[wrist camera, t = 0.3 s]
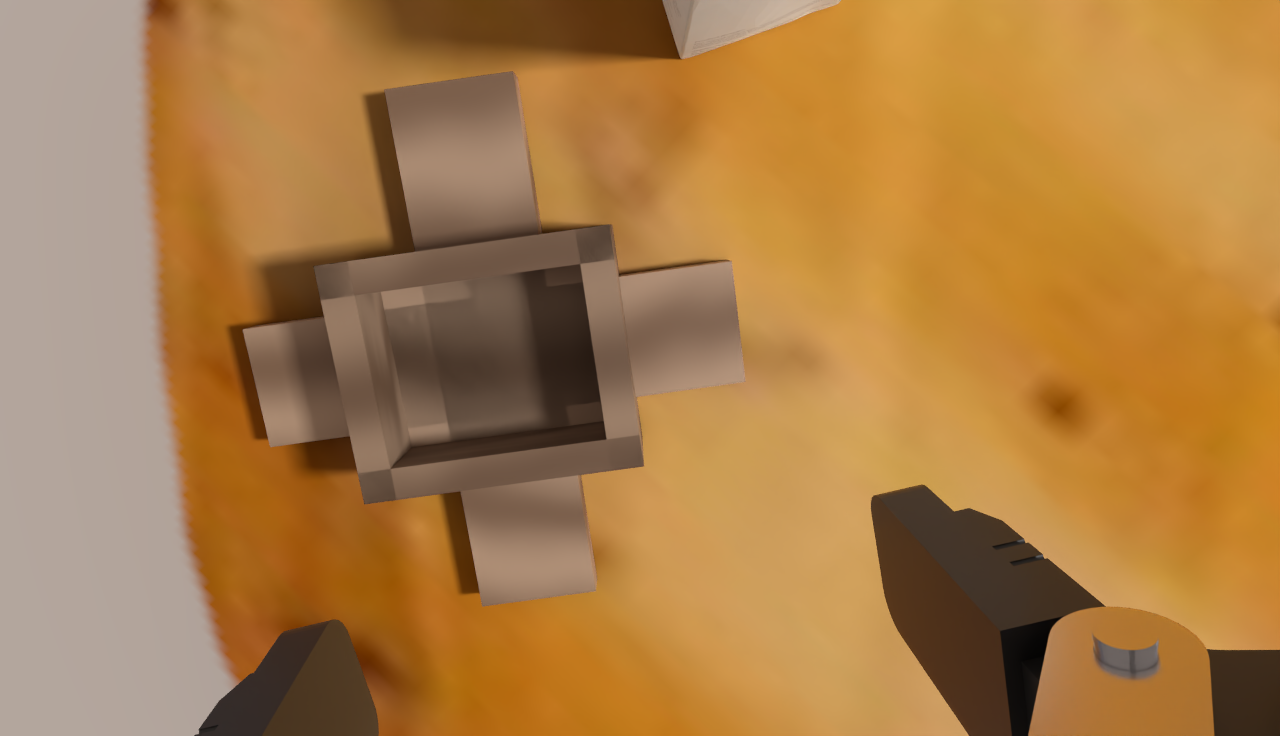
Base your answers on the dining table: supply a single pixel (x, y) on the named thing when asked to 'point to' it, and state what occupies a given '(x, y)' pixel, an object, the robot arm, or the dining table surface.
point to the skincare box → (730, 20)
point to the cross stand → (492, 346)
